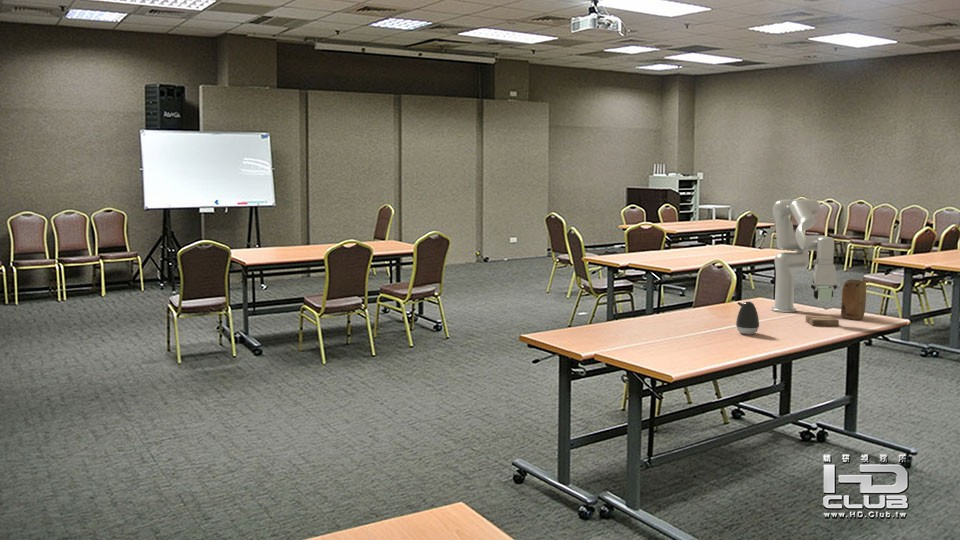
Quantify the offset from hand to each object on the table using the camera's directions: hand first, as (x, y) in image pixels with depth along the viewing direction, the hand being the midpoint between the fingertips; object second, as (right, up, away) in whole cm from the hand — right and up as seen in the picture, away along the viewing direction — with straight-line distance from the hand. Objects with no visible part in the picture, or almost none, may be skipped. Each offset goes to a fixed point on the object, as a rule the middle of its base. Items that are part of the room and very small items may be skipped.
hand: (823, 298), depth 392 cm
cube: (0, -1, 0) cm, 1 cm away
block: (+22, -11, +16) cm, 29 cm away
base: (0, -13, +2) cm, 13 cm away
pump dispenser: (-45, -16, -21) cm, 52 cm away
